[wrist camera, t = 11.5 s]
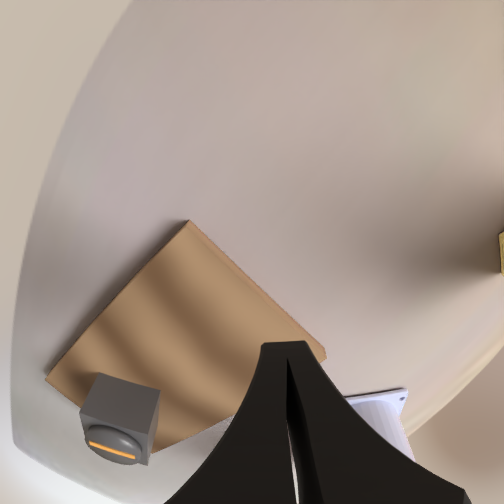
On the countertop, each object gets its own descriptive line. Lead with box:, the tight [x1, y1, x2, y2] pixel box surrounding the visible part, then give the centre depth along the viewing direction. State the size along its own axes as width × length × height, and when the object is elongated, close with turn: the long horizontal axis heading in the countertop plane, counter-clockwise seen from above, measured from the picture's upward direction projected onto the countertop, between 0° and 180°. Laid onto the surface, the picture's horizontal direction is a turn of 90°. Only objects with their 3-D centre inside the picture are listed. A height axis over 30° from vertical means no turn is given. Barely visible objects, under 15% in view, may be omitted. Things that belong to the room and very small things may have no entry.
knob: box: [79, 372, 161, 466], centre depth 21 cm, size 5×5×5 cm
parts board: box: [45, 220, 327, 454], centre depth 23 cm, size 21×13×1 cm, turn 133°
